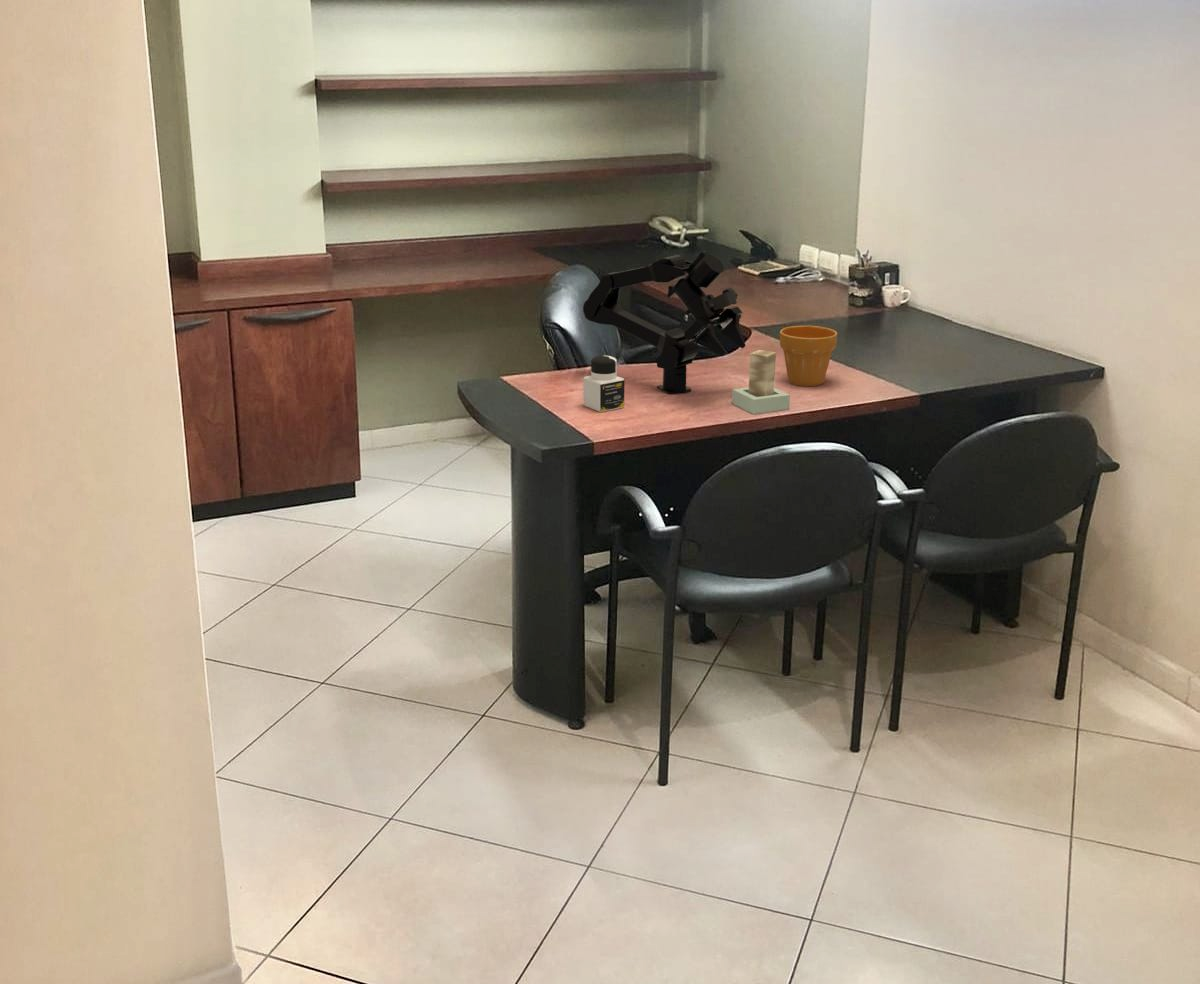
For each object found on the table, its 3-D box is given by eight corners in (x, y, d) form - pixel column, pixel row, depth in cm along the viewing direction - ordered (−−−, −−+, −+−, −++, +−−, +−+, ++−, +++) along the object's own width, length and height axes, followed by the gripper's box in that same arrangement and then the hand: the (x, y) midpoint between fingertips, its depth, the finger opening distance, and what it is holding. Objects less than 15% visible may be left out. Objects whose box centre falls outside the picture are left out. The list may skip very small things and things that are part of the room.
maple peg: (747, 407, 290) (750, 353, 286) (756, 402, 294) (759, 349, 289) (764, 410, 288) (767, 356, 284) (773, 405, 291) (775, 352, 287)
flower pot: (791, 391, 303) (794, 339, 299) (768, 376, 316) (771, 327, 312) (843, 387, 307) (847, 336, 302) (819, 373, 320) (822, 323, 315)
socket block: (731, 403, 293) (732, 389, 292) (767, 398, 297) (767, 384, 296) (753, 414, 285) (754, 399, 284) (789, 409, 289) (789, 394, 288)
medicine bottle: (600, 412, 286) (600, 362, 282) (582, 405, 291) (582, 356, 287) (624, 407, 290) (625, 358, 286) (607, 400, 295) (607, 352, 291)
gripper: (695, 284, 281) (736, 337, 279) (736, 272, 295) (775, 323, 293) (666, 314, 288) (706, 366, 286) (707, 301, 302) (745, 351, 300)
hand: (734, 350), depth 291 cm, fingers open, 9 cm apart
